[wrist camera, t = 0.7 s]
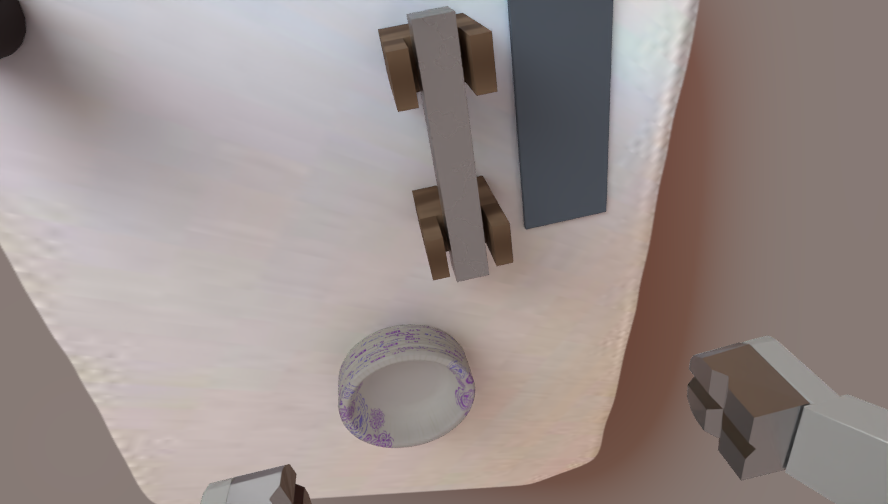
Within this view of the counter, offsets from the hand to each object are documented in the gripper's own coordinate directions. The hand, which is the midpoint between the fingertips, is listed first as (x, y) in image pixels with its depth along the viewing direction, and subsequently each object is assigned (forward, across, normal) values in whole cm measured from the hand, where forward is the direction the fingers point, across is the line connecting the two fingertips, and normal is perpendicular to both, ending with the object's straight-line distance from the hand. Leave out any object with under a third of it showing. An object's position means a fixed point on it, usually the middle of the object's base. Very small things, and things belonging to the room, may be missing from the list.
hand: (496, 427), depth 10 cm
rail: (+33, -3, +7) cm, 33 cm away
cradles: (+39, -3, +7) cm, 39 cm away
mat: (+39, -15, +7) cm, 42 cm away
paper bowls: (+40, +7, +33) cm, 52 cm away
